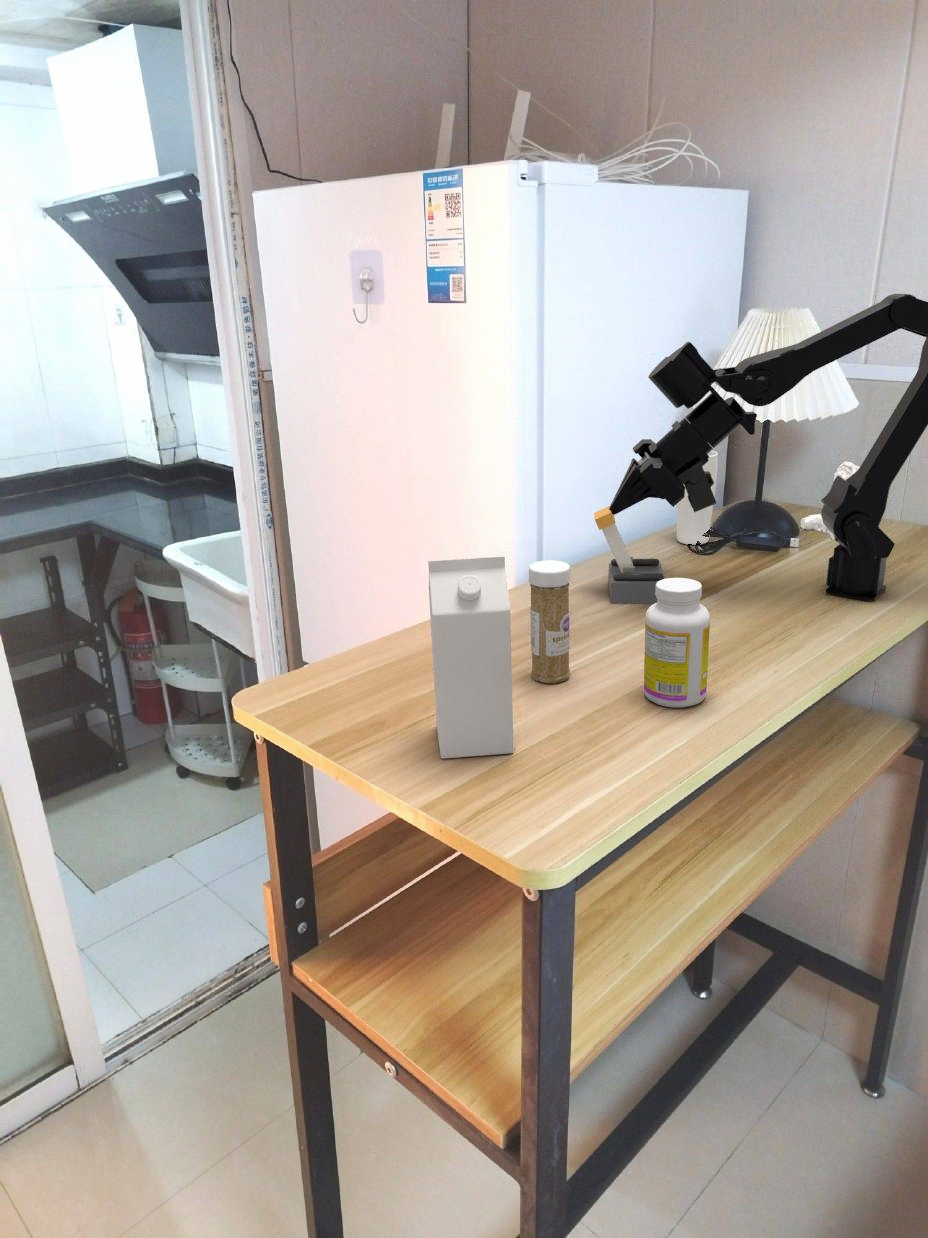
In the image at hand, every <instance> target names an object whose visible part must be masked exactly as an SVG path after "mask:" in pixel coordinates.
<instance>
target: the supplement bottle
mask: <svg viewBox="0 0 928 1238" xmlns="http://www.w3.org/2000/svg"><path fill="white" fill-rule="evenodd" d="M655 595H656V598H657V599H658V600H657V603H652V604H651V606H649V607H648V608H647V611H646V612H645V617H644V659H643V660H644V665H643V666H644V668H643V692H644V696H645V697H646V698H647V699H648V700H649V701H650V702H651V703H654V704H657V705H660V706H662V707H667V708H672V709H673V708H677V709H678V708H688V707H693V706H696V705H698V704H700V703H701V702H702V701H703V700H704V699H705V697H706V695H707V689H708V686H707V685H708V668H709V648H710V647H709V646H710V644H709V643H710V631H711V630H710V628H711V615H710V612H709V611H708V609H707V608H706V607H705V605H703V604H701V603H700V600H701V598H702V595H703V586H702V583H701V582H700V581H698V580H695V579H692V578H687V577H669V578H665V579H663V580H660V581H658V582H657V583H656V590H655Z"/></svg>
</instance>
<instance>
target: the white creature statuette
mask: <svg viewBox="0 0 928 1238" xmlns="http://www.w3.org/2000/svg"><path fill="white" fill-rule="evenodd" d="M859 468H860V466H859V465H856V464H854V463H853V462H851V461H843V462H842V463H841V464H840V465H839V466H838V467H837V469H836V472H834V473H833V474H834V476H833V480H832V481H833V482H834V480H835V478H836V477H837V476H840V477H841V478H843V479H844V480H847V479H848V478H849V477H850V476H852V475H853V474H854V473H855V472H856V471H857V470H858V469H859ZM833 482H832V483H833ZM800 528H802V530H805V531H806V530H807V531H813V530H814V531H817V532H820V533H822V534H825V533H827V535H829V536H830V538H831V539H832V540H833V541H835V538H834V535H833V534H832V533H831V532H830V531H829V530H828V529H827V527H826V526H825V525H824V523H823V520H822V516H821V513H817V514H809V515H807V516H806V517H802V518H801V519H800Z"/></svg>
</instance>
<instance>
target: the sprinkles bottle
mask: <svg viewBox="0 0 928 1238" xmlns="http://www.w3.org/2000/svg"><path fill="white" fill-rule="evenodd" d="M528 582H529V583H530V584H529V587H530V610H529V611H530V651H531V672H530V675H531V677H532V678H533V680H534V681H536V682H539V683H545V684H556V683H561V682H564V681H566V680H567V679H569V678H570V676H571V671H570V648H571V647H570V643H571V642H570V639H571V638H570V633H571V632H570V607H569V606H570V604H569V603H570V602H569V601H570V599H569V597H570V595H569V594H570V593H569V592H570V589H569V588H570V587H569V586H570V582H571V566H570V565H569V564H568V563H567V562H564V561H560V560H553V559H552V560H539V561H535V562H533V563H531V564H530V565H529V567H528Z"/></svg>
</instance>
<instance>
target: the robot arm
mask: <svg viewBox="0 0 928 1238" xmlns="http://www.w3.org/2000/svg"><path fill="white" fill-rule="evenodd" d="M901 329H902V330H904V331H907V332H910V333H911V334H915V335H918V336H921V337H923V338H925V340H924V343H923V345H922V348H921V352H920V358H919V363H918V368H917V371H916V374H915V375H914V377H913V378H912V380H911V382H909V385H908V387H907V388H906V390H905V392H904V393H903V394H902V397H901V398H900V400H899V402H898V403H897V404H896V406H895V409H893V412H892V414H891V415H890V417H889V419H888V420H887V422H886V424H885V425H884V427H883V428H882V430H881V431H880V433H879V435H878V437H877V439H876V440H875V441H874V443H873V445H872V447H871V449H870V450H869V452H868V454H867V455H866V456H865V458H864V460H863V462H862V463H861V465H860V466H859V467H860V468H859V469H858V470H857V471H856V472H855V473H854V474H853V475H852V476H850V477H849V478H848V479H847V480H844V479H843V478H841V477H840V476H837V477H836V478H835V480H834V479H833V480H834V482H832V485H831V488H830V490H829V491H828V493H827V494H826V495H825V496H824V497H823V498H821V500H820V501H821V503H822V504H823V506H822V509H821V511H820V512H821V513H820V514H821V516H822V520H823V523H824V525H825V526H826V527H827V529H828V530H829V531H830V532H831V533H832V534H833V535H834V538H835V540H834V541H835V542H836V543H839V544H838V545H837V546H836V547H834V548H833V555H831V557H829V558H828V565H827V574H826V583H825V584H826V586H827V588H826V589H825V594H827V595H832V596H839V597H845V598H851V599H857V600H860V601H861V600H863V601H867V602H868V601H869V602H874V601H875V600H877V599H878V598H879V597H880V596H881V595H882V594H883V593H884V592H885V591H886V589H887V585H886V584H884V582H885V581H884V580H885V574H886V573H885V572H886V566H887V559H888V558H889V557H890V555H891V553H892V551H893V549H894V548H895V542H894V541H893V540H892V539H891V538H890V537H889V536H888V535H887V534H886V533H885V532H884V531H883V530H882V529H881V528H880V527H879V526H880V525H881V521H882V520H883V517H884V514H885V511H886V509H887V505H888V498H889V494H890V490H891V486H892V484H893V482H894V481H895V479H896V477H897V476H898V474H899V472H900V471H901V469H902V467H903V466H904V464H905V462H906V460H907V459H908V458H909V456H910V455H911V453H912V451H913V450H914V449H915V446H916V444H917V443H918V442H919V441H920V438H921V437H922V435H923V434H924V432H925V431H926V428H927V427H928V301H926V300H923V299H919V298H917V297H916V296H914V295H912V294H909V293H893V294H889V295H888V296H886V297H884V298H883V299H882V300H881V301H880V302H877V303H876V304H875V303H874V304H873V305H872V306H869V307H867V308H866V309H864V310H861V311H859V312H858V313H856V314H854V315H851V316H849V317H847V318H846V319H844V320H841V321H840V322H838V323H835V324H834V325H832V326H829V327H827V328H826V329H823V330H821V331H820V332H817V333H815V334H814V335H811V336H809V337H808V338H806V339H803V340H801V341H800V342H798V343H796V344H792V345H789V346H784V347H780V348H776V349H772V350H769V351H764V352H762V353H759V354H756V355H752V356H749V357H747V358H744V359H742V360H741V361H740V362H738V364H736V366H732V367H724V368H721V367H719V368H718V369H713V368H712V367H711V365H710V364H709V363H708V362H707V361H706V360H705V359H704V357H702V355H700V352H699V351H698V349H697V348H696V346H694V345H693V343H692V342H691V341H686V342H685V343H684V344H683V345H682V346H681V347H679V348H678V349H676V350H675V351H674V352H673V353H671V354H670V355H669V356H665V357H664V358H663V359H662V360H661V361H660V362H659V363H658V364H657V365H656V366H655V367H654V368H653V370H652V371H651V372H650V373H649V375H648V379H649V380H650V381H651V382H652V383H653V384H654V386H655V387H656V388H657V389H658V390H659V391H660V392H661V393H662V395H664V396H665V398H666V399H667V400H668V401H669V402H670V403H671V404H672V405H673V406H674V408H676V409H679V408H681V407H683V406H684V407H685V408H686V409H688V410H689V409H691V408H693V407H694V406H695V405H697V406H696V407H694V408H693V409H692V410H691V411H690V412H689V413H687V415H686V416H685V417H684V418H682V419H681V420H680V421H678V420H676V421H674V422H673V423H672V425H671V427H672V428H671V429H670V430H669V431H668V432H667V433H666V434H664V436H663V437H662V438H660V439H659V440H658V441H657V442H655V441H653V440H652V439H648V438H646V439H645V438H642V439H641V440H640V441H638V442H637V443H636V444H635V445H634V446H633V447H632V451H633V453H635V454H636V455H637V454H638V455H639V457H640V459H639V460H638V461H637V459H635V458H634V457H632V459H631V462H630V463H629V466H628V468H627V470H626V472H625V474H624V477H623V479H622V480H621V482H620V485H619V487H618V488H617V490H616V493H615V495H614V497H613V499H612V501H611V503H610V505H609V506H610V507H609V510H611V512H612V514H613V515H614V516H616V515H617V514H619V513H622V511H625V510H627V509H629V508H630V507H632V506H634V505H636V504H638V503H640V502H642V501H645V500H646V499H648V498H653V499H660V500H666V502H668V503H669V504H670V506H671V507H672V508H675V507H676V504H677V503H678V502H680V501H681V500H682V499H683V498H684V495H685V488H686V490H687V493H688V499H689V502H690V504H691V507H692V508H693V510H694V512H697V511H699V510H702V509H704V508H707V507H709V506H712V505H713V506H714V505H716V504H717V501H716V499H715V497H714V495H713V493H712V490H711V486H712V485H713V484H714V481H713V479H712V477H711V473H710V472H709V471H704V470H703V467H702V466H703V465H705V464H706V463H707V462H708V461H709V459H708V458H709V456H708V453H709V452H711V451H714V449H716V447H718V445H720V444H721V443H722V442H723V441H724V440H725V439H726V438H728V437H729V436H730V434H732V433H733V432H734V431H735V430H736V429H738V428H739V427H740V426H741V428H742V429H743V430H744V431H745V432H746V433H748V434H749V435H750V436H753V435H754V434H755V432H756V431H755V430H756V420H757V418H758V414H757V413H756V412H755V411H746V410H745V408H743V406H742V405H741V404H740V403H739V402H738V401H737V400H736V398H735V397H733V396H730V397H727V398H726V399H724V398H723V397H722V396H721V395H720V394H719V392H718V391H717V390H716V389H714V387H713V386H712V385H713V384H716V385H717V386H718V387H720V388H721V389H722V390H723V391H724V392H726V393H731V394H735V395H736V396H738V397H739V398H740V399H741V400H743V401H744V402H746V403H747V404H749V405H750V406H751V405H752V406H755V407H764V406H765V407H766V406H767V405H771V404H772V403H775V402H776V400H778V399H779V398H781V397H782V396H784V395H785V394H786V393H788V392H789V391H791V390H793V389H794V388H795V387H796V386H797V385H798V384H799V383H800V382H802V381H803V380H804V379H805V378H806V377H807V376H809V375H810V374H812V373H813V372H815V371H817V370H819V369H821V368H823V367H824V366H827V365H829V364H830V363H833V362H835V361H837V360H839V359H841V358H843V357H846V356H848V355H850V354H851V353H854V352H855V351H858V350H859V349H861V348H864V347H865V346H867V345H870V344H872V343H874V342H876V341H878V340H879V339H881V338H884V337H886V336H888V335H890V334H892V333H894V332H896V331H898V330H901ZM709 392H710V394H709V395H708V396H707V397H706V398H704V397H705V396H706V395H707V394H708V393H709ZM703 398H704V399H703ZM700 401H701V402H700ZM699 402H700V403H699ZM698 403H699V404H698ZM684 485H685V486H684ZM668 503H667V504H668Z"/></svg>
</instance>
